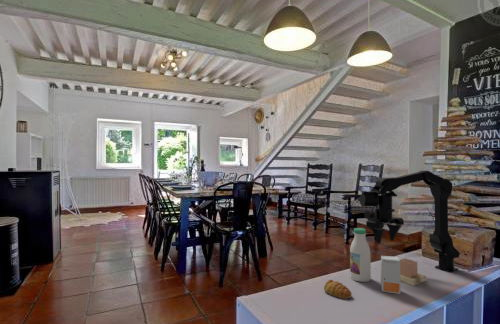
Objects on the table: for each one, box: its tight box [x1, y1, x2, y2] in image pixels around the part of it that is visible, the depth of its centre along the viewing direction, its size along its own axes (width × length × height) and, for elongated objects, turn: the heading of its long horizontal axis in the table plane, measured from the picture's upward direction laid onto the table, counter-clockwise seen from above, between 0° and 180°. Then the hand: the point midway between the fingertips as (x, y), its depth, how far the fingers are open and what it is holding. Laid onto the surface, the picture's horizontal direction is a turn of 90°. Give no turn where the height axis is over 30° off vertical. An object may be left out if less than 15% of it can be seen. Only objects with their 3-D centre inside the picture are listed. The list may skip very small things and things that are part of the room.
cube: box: [400, 257, 419, 277], centre depth 112 cm, size 5×5×5 cm
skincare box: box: [380, 255, 401, 295], centre depth 101 cm, size 6×4×12 cm
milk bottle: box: [349, 227, 372, 283], centre depth 112 cm, size 8×8×20 cm
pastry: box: [323, 279, 352, 300], centre depth 99 cm, size 9×7×4 cm
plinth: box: [400, 272, 427, 286], centre depth 111 cm, size 9×9×2 cm
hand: (385, 242), depth 122 cm, fingers open, 9 cm apart
